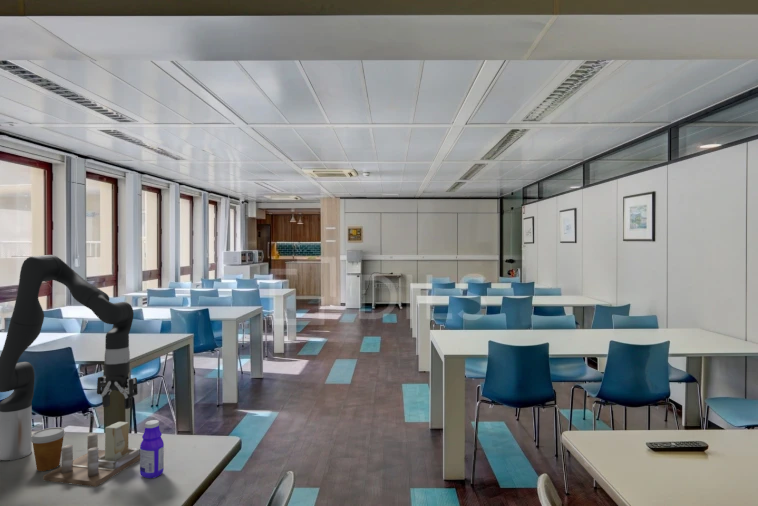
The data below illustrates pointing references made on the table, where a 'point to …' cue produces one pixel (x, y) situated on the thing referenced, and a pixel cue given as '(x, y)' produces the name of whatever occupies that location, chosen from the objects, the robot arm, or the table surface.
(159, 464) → the bottle
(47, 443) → the disposable coffee cup
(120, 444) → the skincare box
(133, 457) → the pin board
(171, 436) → the table surface
